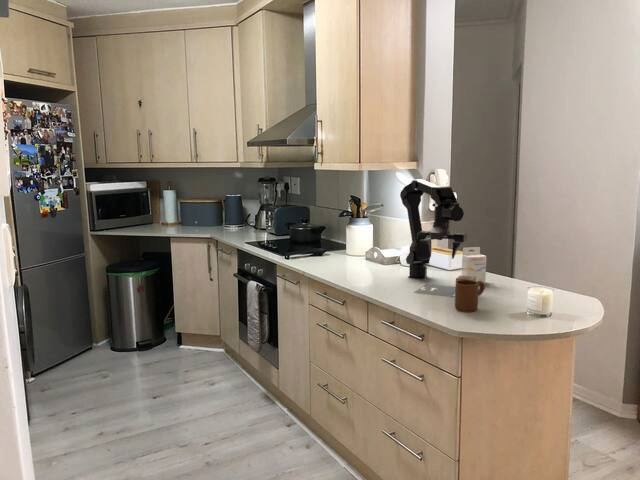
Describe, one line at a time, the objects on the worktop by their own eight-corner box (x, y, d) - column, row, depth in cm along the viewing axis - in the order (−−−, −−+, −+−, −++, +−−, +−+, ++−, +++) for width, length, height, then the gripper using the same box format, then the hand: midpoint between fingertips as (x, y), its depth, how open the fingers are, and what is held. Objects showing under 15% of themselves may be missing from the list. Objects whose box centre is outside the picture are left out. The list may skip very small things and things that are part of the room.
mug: (475, 303, 187) (475, 277, 186) (491, 308, 181) (492, 281, 179) (450, 308, 181) (450, 281, 180) (466, 313, 175) (466, 286, 173)
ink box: (467, 285, 212) (468, 249, 210) (460, 282, 217) (461, 247, 215) (486, 283, 215) (487, 248, 212) (479, 281, 219) (480, 246, 217)
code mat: (413, 293, 202) (413, 292, 202) (426, 284, 215) (426, 283, 215) (470, 300, 191) (470, 299, 191) (481, 290, 205) (481, 289, 205)
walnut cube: (455, 294, 199) (455, 278, 198) (459, 290, 204) (460, 275, 203) (471, 295, 196) (471, 280, 195) (475, 292, 201) (475, 276, 200)
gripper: (412, 219, 204) (411, 259, 206) (460, 222, 195) (459, 263, 197) (421, 216, 213) (421, 254, 216) (468, 218, 204) (467, 258, 207)
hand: (441, 257), depth 209 cm, fingers open, 9 cm apart
